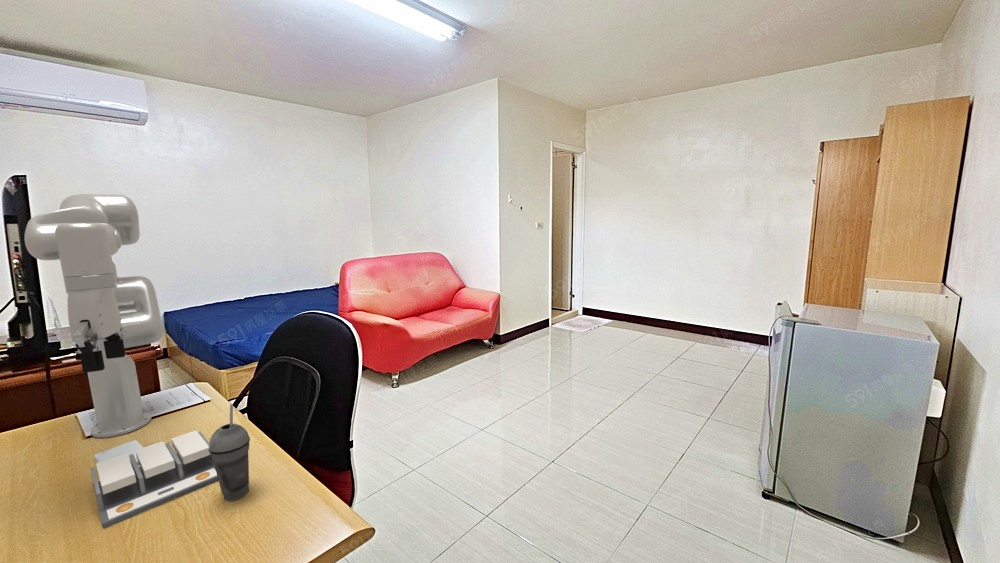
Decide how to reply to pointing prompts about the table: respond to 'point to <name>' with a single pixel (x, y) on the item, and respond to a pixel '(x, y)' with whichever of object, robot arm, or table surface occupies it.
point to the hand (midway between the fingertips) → (105, 364)
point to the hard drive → (119, 451)
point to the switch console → (153, 487)
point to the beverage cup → (231, 459)
